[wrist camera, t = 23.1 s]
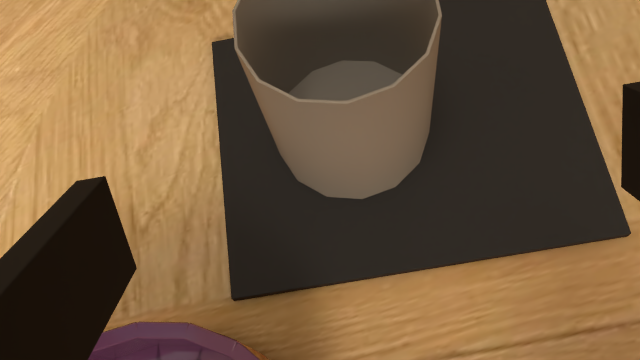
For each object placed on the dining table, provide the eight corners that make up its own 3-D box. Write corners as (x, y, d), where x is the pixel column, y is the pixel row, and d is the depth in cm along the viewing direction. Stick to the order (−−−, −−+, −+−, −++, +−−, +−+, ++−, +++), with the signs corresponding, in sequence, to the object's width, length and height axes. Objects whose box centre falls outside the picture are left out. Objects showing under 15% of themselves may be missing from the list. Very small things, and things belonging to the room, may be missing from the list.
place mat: (233, 301, 30) (231, 299, 30) (213, 46, 36) (211, 41, 36) (627, 236, 29) (631, 233, 29) (536, -15, 35) (538, -21, 35)
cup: (352, 230, 30) (332, 145, 21) (248, 135, 33) (191, 24, 24) (460, 122, 32) (485, 0, 23) (351, 40, 35) (335, -97, 26)
